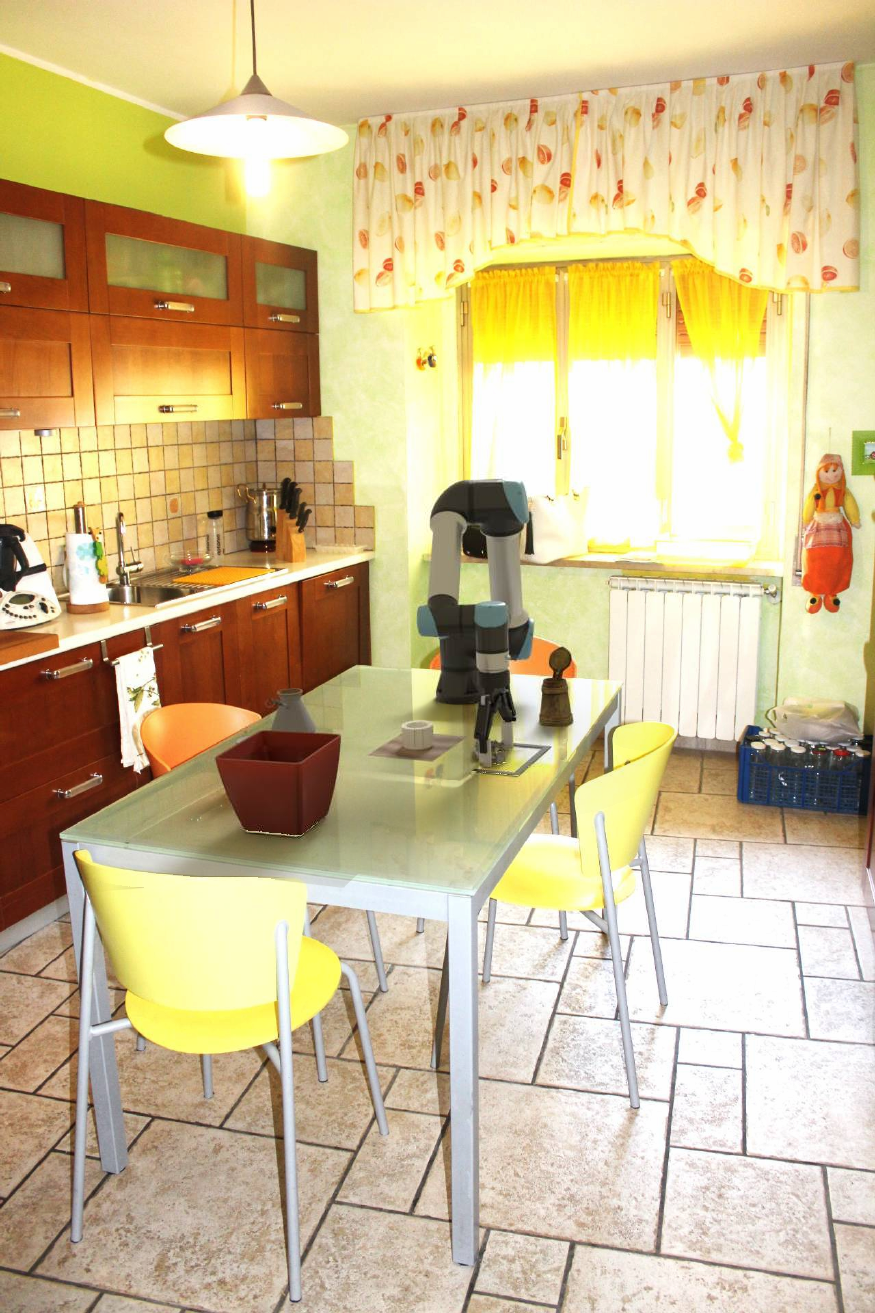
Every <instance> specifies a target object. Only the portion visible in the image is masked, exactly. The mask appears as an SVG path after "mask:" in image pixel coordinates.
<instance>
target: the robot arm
mask: <svg viewBox="0 0 875 1313" xmlns="http://www.w3.org/2000/svg"><path fill="white" fill-rule="evenodd" d="M529 521H530V509H529V502H528V496H527V490H526V487H525V484H524V482H523V481H522V480H521V479H520V478H515V477H513V478H508V477H503V478H502V477H501V478H486V479H485V478H483V479H482V478H481V479H464V480H463V479H462V480H460V481H456V482H454V483H453V484H452V485H449V486H448V487H447V488H446V489H445V490H444V491H443V492H442V493H441V494H440V495H439V497H438V498H437V500H436V501H435V503H434V504H433V507H432V509H431V512H430V516H429V529H430V530H431V532H432V541H431V554H430V562H429V563H430V565H429V575H428V576H429V577H428V587H427V588H428V590H427V600H426V601H427V602H426V604H425V605H420V606H418V608H417V611H416V626H417V627H416V628H417V631H418V635H420V636H421V637H426V638H427V637H428V638H438V640H439V654H440V655H439V658H440V674H439V678H438V681H437V685H436V688H435V699H436V700H437V701H438V702H440V703H445V704H452V705H462V704H464V705H465V704H473V703H477V709H476V717H475V723H474V724H475V725H474V732H473V739H474V740H476V739H478V741H479V759H478V760H479V763H480V764H479V766H480V767H488V768H491V767H492V765H493V764H492V760H491V755H492V753H491V740H492V738H490V734H491V730H492V726H493V722H494V718H495V715H496V714H497V712H498V714H499V716H500V718H501V720H502V721H500V732H501V733H500V735H501V736H500V737H501V741H504V743H505V745H506V746H507V748H506V749H505V750H514V746H513V743H514V731H513V730H514V729H513V728H514V724H513V722H514V723H516V722H517V717H516V716H517V712H516V707H515V704H514V700H513V696H512V692H511V671H510V669H509V667H510V661H513V662H517V661H524V660H525V661H526V660H529V659H530V658H531V656H532V652H533V643H534V642H533V641H534V634H535V632H534V631H535V619H534V618H532V617H529V612H528V611H527V609H525V608H524V607H523V588H522V570H521V569H522V568H521V553H520V552H521V551H520V534H521V533H522V532H523V531H524V528H525V525H526V524H528V523H529ZM468 526H479V531H480V533H481V534H482V535H483V536H485V538H486V540H485V541H486V553H487V564H488V566H487V567H488V580H489V591H490V592H489V593H490V600H488V601H487V600H486V601H481V602H478V603H473V604H472V603H468V604H465V603H464V604H459V601H460V600H459V599H460V583H461V570H462V569H461V567H462V549H463V534H465V532H466V531H467V529H468Z"/></svg>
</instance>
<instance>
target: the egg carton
mask: <svg viewBox="0 0 875 1313" xmlns="http://www.w3.org/2000/svg"><path fill="white" fill-rule="evenodd" d="M496 747H499V749H498V750H497V748H496ZM506 748H507V746H506V745H505V743H504V741H502V740H501V741H500V742H499V741H498V740H497V739H495V740H492V739H491V760H492V763H496V764H495V765H497V764H501V765H503V764H504V763H503V762H506V763H507V754H506V752H507V751H506V750H507V749H506ZM473 752H474V754H475V755H476V760H479V741H478V739H475V744H474V749H473ZM502 763H503V764H502Z"/></svg>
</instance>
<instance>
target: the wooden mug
mask: <svg viewBox="0 0 875 1313" xmlns="http://www.w3.org/2000/svg"><path fill="white" fill-rule="evenodd" d="M548 658H549V660H548V666H549V668H550V669H551V670H552V672H553V673H552V676H551V677H546V678H543V680H542V683H541V688H540V691H541V701H540V712H539V715H538V716H539V718H538V721H539V724H540V725H543V726H547V727H560V726H563V727H564V726H567V725H571V724H572V723H573V722H574V714H573V713H572V709H571V703H570V702H571V701H570V695H569V685H568V683H567V679H566V678H563V674H564V671H565V670H567V669H568V668H569V667H570V665H571V663H572V661H573V657H572V653H571V652H570V651H569V649H568V648H566V647H564V646H563V645H562V646H560V647H557V648H556V649H554V650H553V651H552V652H551V653H550V654H549V657H548Z"/></svg>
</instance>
